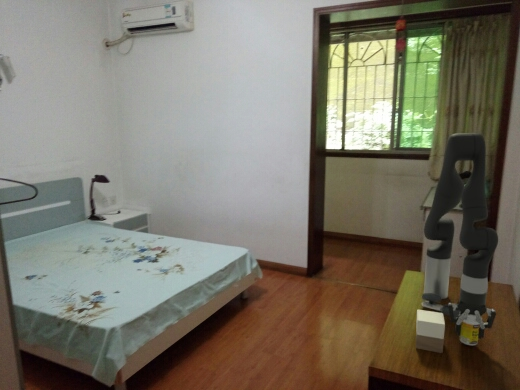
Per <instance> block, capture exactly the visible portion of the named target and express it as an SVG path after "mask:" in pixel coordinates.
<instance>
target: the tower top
mask: <svg viewBox="0 0 520 390" xmlns="http://www.w3.org/2000/svg"><path fill="white" fill-rule="evenodd" d="M445 323H446V322H445V317H444V314H443V313H442V312H438V311H430V310H423V309H417V310H416V322H415V326H416V332H415V334H416V333H417V335H422V336H428V337H434V338H440V339H444V340H445V337H444V336H445V328H446V327H445V326H446V324H445Z"/></svg>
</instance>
